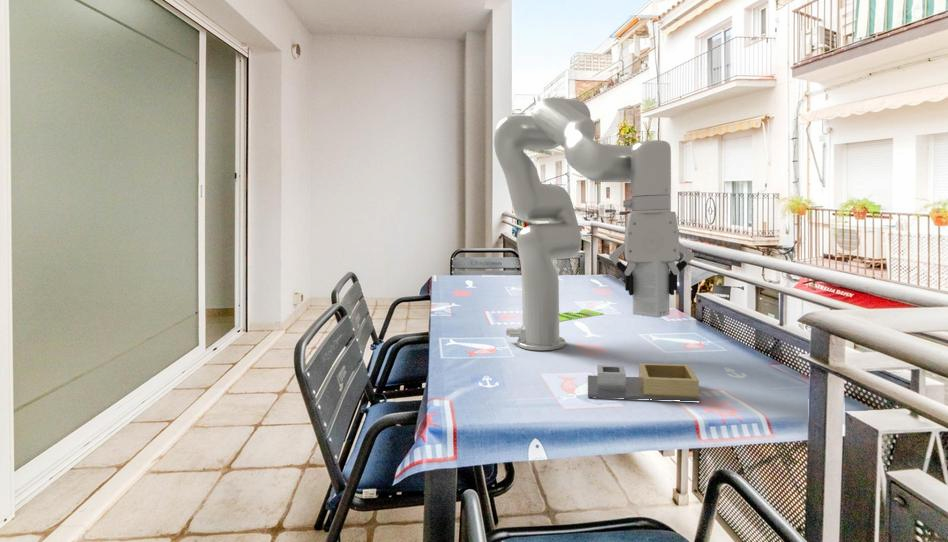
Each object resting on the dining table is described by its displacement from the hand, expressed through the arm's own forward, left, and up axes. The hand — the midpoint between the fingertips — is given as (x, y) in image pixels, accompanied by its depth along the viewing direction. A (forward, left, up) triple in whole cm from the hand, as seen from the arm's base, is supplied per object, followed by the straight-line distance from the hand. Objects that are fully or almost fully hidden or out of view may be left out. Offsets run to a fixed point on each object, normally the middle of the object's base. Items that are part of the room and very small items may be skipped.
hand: (650, 293), depth 106 cm
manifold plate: (-2, -6, -18) cm, 19 cm away
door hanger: (-20, +61, -19) cm, 67 cm away
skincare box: (0, 0, -5) cm, 5 cm away
